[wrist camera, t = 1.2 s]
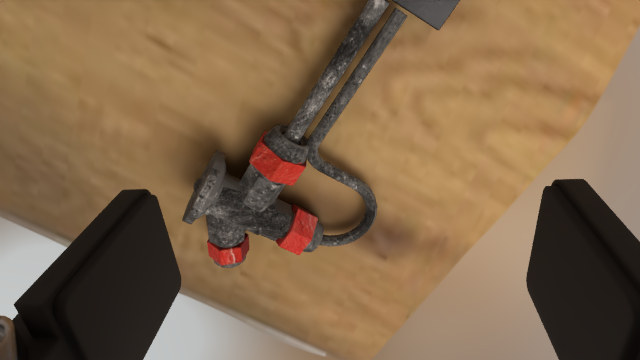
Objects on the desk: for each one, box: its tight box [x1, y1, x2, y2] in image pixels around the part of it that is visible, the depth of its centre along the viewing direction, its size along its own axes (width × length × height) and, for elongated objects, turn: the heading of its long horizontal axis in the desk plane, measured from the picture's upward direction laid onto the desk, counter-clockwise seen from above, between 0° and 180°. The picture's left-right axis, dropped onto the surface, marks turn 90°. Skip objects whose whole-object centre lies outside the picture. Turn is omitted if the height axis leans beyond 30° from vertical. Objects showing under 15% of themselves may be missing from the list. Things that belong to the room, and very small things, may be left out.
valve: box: [182, 0, 407, 268], centre depth 35 cm, size 6×26×15 cm
